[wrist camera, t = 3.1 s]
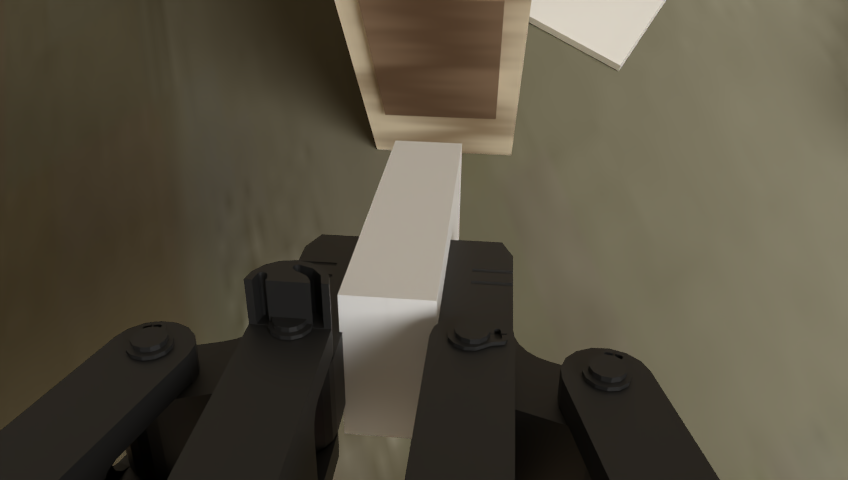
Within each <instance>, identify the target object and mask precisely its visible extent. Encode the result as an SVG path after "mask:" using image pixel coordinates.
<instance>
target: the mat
mask: <svg viewBox="0 0 848 480" xmlns="http://www.w3.org/2000/svg"><path fill="white" fill-rule="evenodd" d="M665 1H666V0H532V1H531V8H530V16H529V23H531V24H533V25H535V26H537V27H538V28H540V29H542V30H544V31H546V32H548V33H549V34H551V35H553V36H555V37H557V38H559V39H560V40H562V41H564V42H566V43H568V44H570V45H572V46H573V47H575V48H577V49H579V50H581V51H583V52H584V53H586V54H588V55H590V56H592V57H594V58H595V59H597V60H599V61H601V62H603V63H605V64H606V65H608V66H610V67H612V68H614V69H616V70H617V71H619V70H620V68H621V67H622V65H623V64H624V62H625V61H626V59H627V58H628V57H629V55H630V54H631V52H632V51H633V49H634V48H635V46H636V45H637V43H638V42H639V40H640V39H641V37H642V36H643V34H644V33H645V31H646V30H647V28H648V27H649V25H650V24H651V22H652V21H653V19H654V18H655V16H656V15H657V13H658V12H659V10H660V9H661V7H662V6H663V4H664V3H665Z"/></svg>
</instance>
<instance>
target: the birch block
mask: <svg viewBox="0 0 848 480" xmlns="http://www.w3.org/2000/svg"><path fill="white" fill-rule="evenodd" d="M334 1H335V4H336V8H337V11H338V15H339V18H340V22H341V25H342V29H343V32H344V36H345V39H346V43H347V46H348V49H349V53H350V56H351V60H352V63H353V67H354V70H355V74H356V77H357V81H358V84H359V88H360V91H361V95H362V98H363V102H364V105H365V108H366V112H367V115H368V119H369V122H370V126H371V129H372V133H373V136H374V140H375V143H376V147H377V149H380V150H392V149H393V146H394V143H395V141H417V142H440V143H462V153H472V154H496V155H511V153H512V146H513V138H514V130H515V123H516V115H517V107H518V100H519V92H520V85H521V77H522V69H523V62H524V54H525V46H526V39H527V31H528V24H529V16H530V8H531V1H532V0H334Z"/></svg>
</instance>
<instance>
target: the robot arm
mask: <svg viewBox="0 0 848 480" xmlns="http://www.w3.org/2000/svg"><path fill="white" fill-rule="evenodd" d="M461 159H462V143H440V142H417V141H395V143H394V146H393V149H392V151H391V154H390V157H389V159H388V162H387V165H386V167H385V170H384V173H383V175H382V178H381V181H380V183H379V186H378V189H377V191H376V194H375V197H374V199H373V202H372V205H371V207H370V210H369V213H368V215H367V218H366V220H365V223H364V226H363V228H362V231H361V234H360V236H359V237H358V236H340V235H321V236H319V237H318V238H317V239H315V240H314V241H312V242H311V243H310V244H308V245H307V246H306V247H305V249H304V251H303V253H302V255H301V257H300V259H299V261H298V260H293V261H278V262H274V263H270V264H266V265H263V266H261V267H259V268H257V269H255V270H253V271H251V272H250V273H249V274H248V275H247V276H246V277H245V278H244V284H245V293H246V301H247V310H248V318H249V325H248V327H247V329H246V331H245V333H244V335H243V337H240V338H237V339H233V340H228V341H224V342H216V343H209V344H201V345H196V338H195V335H194V333H193V332H192V331H191V330H190V329H189V328H188V327H186V326H184V325H181V324H179V323H174V322H163V321H160V322H150V323H144V324H141V325H138V326H135V327H132V328H129V329H127V330H125V331H124V332H122V333H121V334H119V335H117V336H116V337H114V338H113V339H112V340H110V341H109V342H108V343H107V344H106V345H104V346H103V347H102V348H101V349H99V350H98V351H97V352H96V353H95V354H93V355H92V356H91V357H90V358H88V359H87V360H86V361H85V362H84V363H82V364H81V365H80V366H79V367H78V368H76V369H75V370H74V371H73V372H71V373H70V374H69V375H68V376H67V377H65V378H64V379H63V380H62V381H60V382H59V383H58V384H57V385H56V386H54V387H53V388H52V389H51V390H49V391H48V392H47V393H46V394H45V395H43V396H42V397H41V398H40V399H38V400H37V401H36V402H35V403H34V404H32V405H31V406H30V407H29V408H27V409H26V410H25V411H24V412H23V413H21V414H20V415H19V416H18V417H16V418H15V419H14V420H13V421H12V422H10V423H9V424H8V425H7V426H6V427H4V428H3V429H2V430H1V431H0V480H332V479H333V475H334V472H335V468H336V464H337V461H338V457H339V441H338V429H339V425H340V422H341V418H342V415H343V412H344V431H345V434H358V435H371V436H384V437H397V438H410V439H412V440H411V446H410V452H409V458H408V464H407V469H406V475H405V480H720V479H719V478H718V476H717V475H716V473H715V472H714V470H713V468H712V467H711V465H710V464H709V462H708V461H707V459H706V457H705V456H704V454H703V453H702V451H701V450H700V448H699V446H698V445H697V443H696V442H695V440H694V439H693V437H692V435H691V434H690V432H689V431H688V429H687V428H686V426H685V424H684V423H683V421H682V420H681V418H680V417H679V415H678V413H677V412H676V410H675V409H674V407H673V406H672V404H671V402H670V401H669V399H668V398H667V396H666V395H665V393H664V391H663V390H662V388H661V387H660V385H659V384H658V382H657V381H656V379H655V377H654V376H653V374H652V373H651V371H650V370H649V369H648V368H647V367H646V366H645V365H644V364H643V363H642V362H641V361H639V360H638V359H636V358H634V357H632V356H630V355H628V354H627V353H623V352H619V351H616V350H612V349H604V348H589V349H585V350H580V351H576V352H575V353H573V354H571V355H570V356H568V357H567V358H566V359H565V360H564V362H563V364H562V365H559V364H556V363H552V362H549V361H546V360H543V359H541V358H538V357H536V356H534V355H532V354H531V353H529V352H527V351H526V350H525V349H524V348H523V347H521V346H520V345H519V343H518V342H517V340H516V339H515V337H514V333H513V256H512V255H511V253H510V252H509V251H508V250H507V248H506V247H505V246H504V245H503V243H500V242H482V241H464V240H459V217H460V188H461ZM125 450H126V453H127V454H126V456H125V457H124V458H123V459H122V460H121V461H120V462H119V463H117V464H116V465H114V466H112V464H113V463H114V462H115V460H116V459H117V458H118V457H119V456H120V455H121V454H122V453H123V452H124V451H125Z"/></svg>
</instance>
